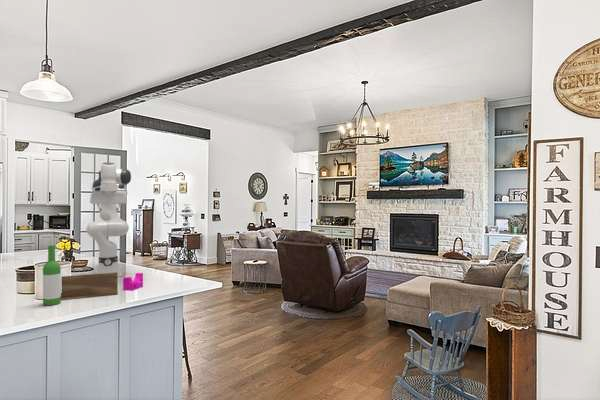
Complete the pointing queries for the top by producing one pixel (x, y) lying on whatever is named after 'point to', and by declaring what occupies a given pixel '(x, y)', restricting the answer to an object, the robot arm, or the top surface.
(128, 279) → the toy block
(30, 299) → the top surface
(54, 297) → the wine bottle
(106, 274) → the brown block
